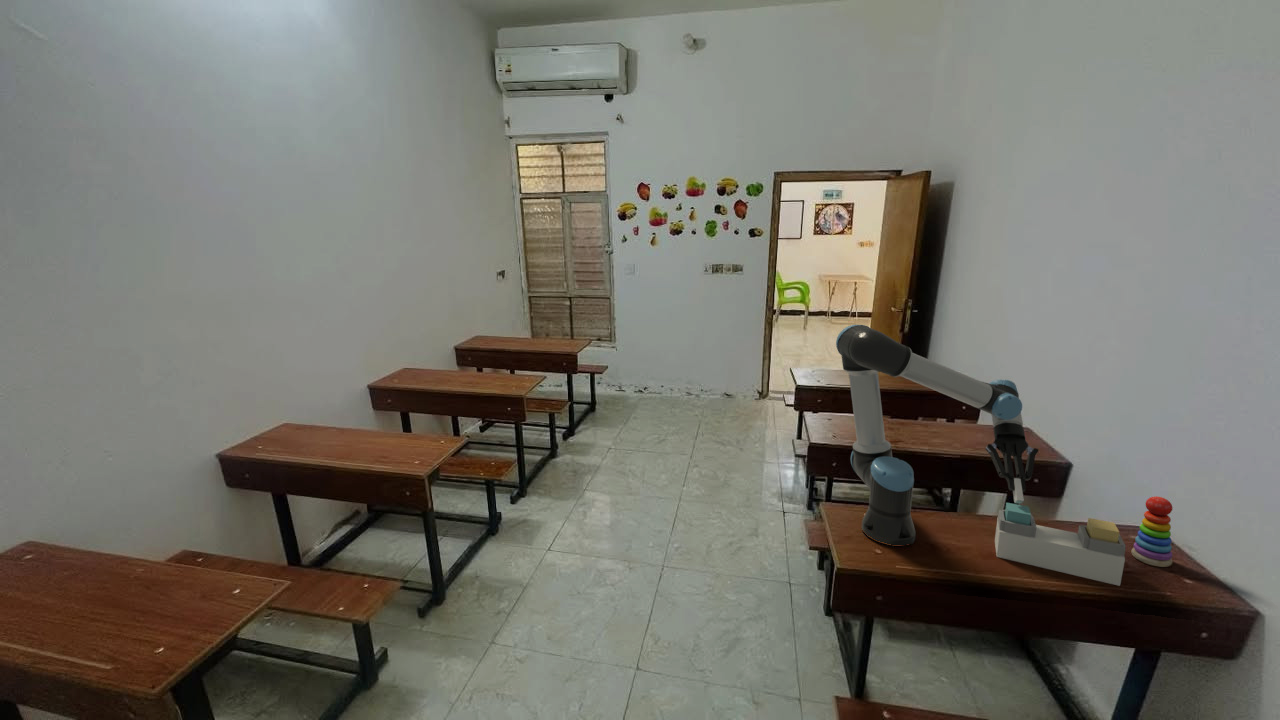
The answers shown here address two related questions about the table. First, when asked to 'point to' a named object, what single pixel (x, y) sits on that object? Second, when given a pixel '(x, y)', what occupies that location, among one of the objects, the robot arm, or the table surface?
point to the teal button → (1017, 513)
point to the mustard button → (1102, 530)
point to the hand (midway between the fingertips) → (1019, 501)
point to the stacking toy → (1155, 534)
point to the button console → (1060, 550)
